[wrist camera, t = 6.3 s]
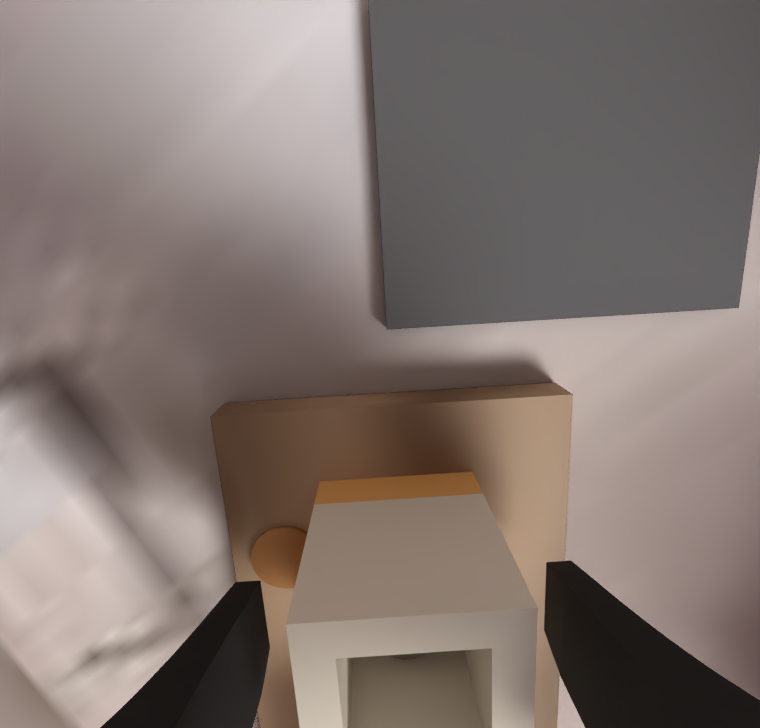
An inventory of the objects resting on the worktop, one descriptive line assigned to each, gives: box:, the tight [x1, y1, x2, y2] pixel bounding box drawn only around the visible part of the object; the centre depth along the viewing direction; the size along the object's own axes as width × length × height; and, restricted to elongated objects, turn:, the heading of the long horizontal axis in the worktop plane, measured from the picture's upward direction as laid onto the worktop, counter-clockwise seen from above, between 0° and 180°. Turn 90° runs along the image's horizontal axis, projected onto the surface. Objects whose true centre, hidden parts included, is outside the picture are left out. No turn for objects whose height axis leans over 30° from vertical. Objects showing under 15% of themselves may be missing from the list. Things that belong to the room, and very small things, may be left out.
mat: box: [369, 0, 760, 329], centre depth 11 cm, size 10×8×1 cm
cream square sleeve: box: [286, 472, 538, 728], centre depth 10 cm, size 4×4×5 cm
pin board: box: [211, 383, 573, 728], centre depth 13 cm, size 10×18×4 cm, turn 3°
